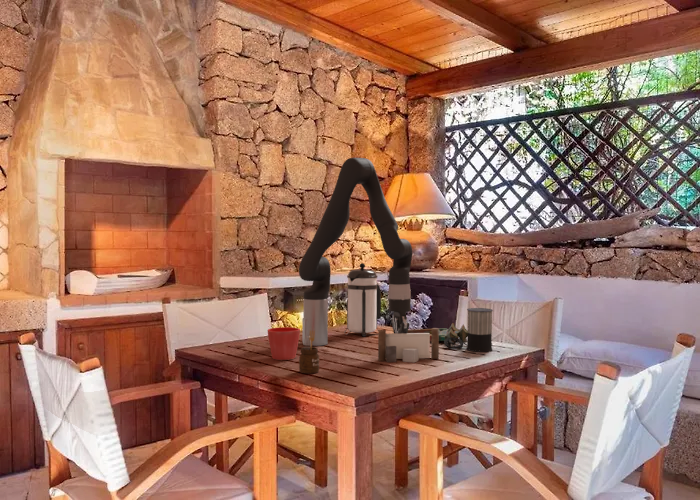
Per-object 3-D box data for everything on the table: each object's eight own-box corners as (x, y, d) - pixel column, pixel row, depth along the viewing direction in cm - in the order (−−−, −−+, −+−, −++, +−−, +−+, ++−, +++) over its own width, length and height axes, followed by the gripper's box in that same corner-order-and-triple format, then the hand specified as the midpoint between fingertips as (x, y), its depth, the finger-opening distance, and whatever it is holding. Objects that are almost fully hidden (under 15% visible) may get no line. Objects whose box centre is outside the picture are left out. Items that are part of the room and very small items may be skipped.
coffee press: (383, 337, 248) (383, 263, 248) (344, 337, 248) (344, 263, 247) (380, 330, 265) (380, 262, 265) (344, 330, 265) (344, 262, 265)
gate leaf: (428, 357, 204) (428, 333, 204) (429, 357, 202) (429, 333, 202) (384, 357, 203) (384, 333, 202) (385, 358, 201) (385, 334, 201)
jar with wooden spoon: (296, 373, 179) (296, 332, 179) (303, 369, 186) (303, 329, 185) (315, 374, 178) (315, 333, 178) (321, 370, 184) (321, 330, 184)
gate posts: (380, 362, 196) (380, 331, 196) (377, 359, 200) (377, 329, 200) (441, 359, 201) (441, 329, 201) (437, 357, 205) (437, 327, 205)
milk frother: (497, 351, 217) (497, 310, 216) (457, 353, 212) (458, 311, 212) (477, 345, 230) (477, 306, 230) (439, 347, 226) (440, 307, 225)
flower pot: (263, 356, 206) (263, 327, 206) (294, 354, 210) (294, 326, 210) (272, 362, 196) (272, 332, 196) (304, 359, 200) (304, 330, 200)
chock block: (414, 362, 196) (414, 350, 196) (402, 361, 198) (402, 349, 198) (418, 360, 200) (418, 348, 200) (407, 359, 202) (407, 347, 202)
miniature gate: (399, 325, 261) (470, 322, 254) (400, 337, 261) (471, 335, 254) (390, 334, 234) (469, 331, 228) (391, 348, 234) (470, 345, 228)
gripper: (383, 296, 212) (383, 345, 213) (395, 299, 199) (395, 352, 200) (403, 295, 214) (404, 344, 214) (416, 298, 201) (417, 350, 202)
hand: (400, 347), depth 207 cm, fingers closed
